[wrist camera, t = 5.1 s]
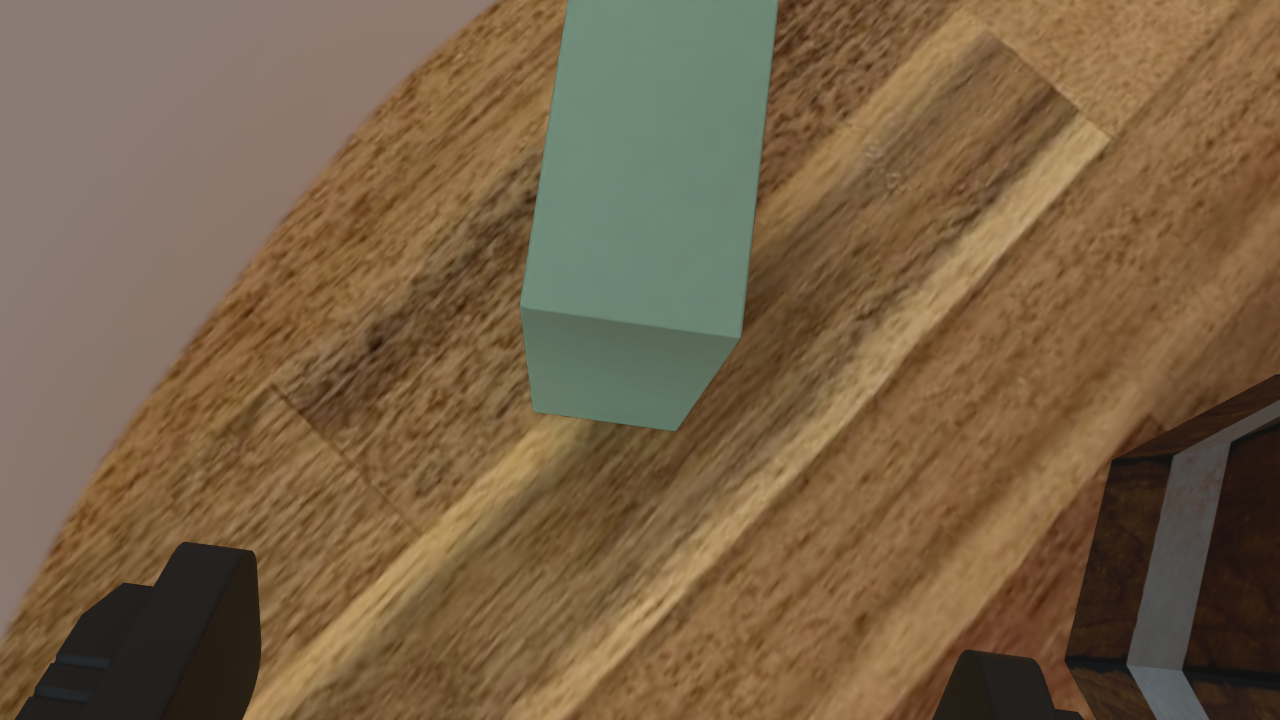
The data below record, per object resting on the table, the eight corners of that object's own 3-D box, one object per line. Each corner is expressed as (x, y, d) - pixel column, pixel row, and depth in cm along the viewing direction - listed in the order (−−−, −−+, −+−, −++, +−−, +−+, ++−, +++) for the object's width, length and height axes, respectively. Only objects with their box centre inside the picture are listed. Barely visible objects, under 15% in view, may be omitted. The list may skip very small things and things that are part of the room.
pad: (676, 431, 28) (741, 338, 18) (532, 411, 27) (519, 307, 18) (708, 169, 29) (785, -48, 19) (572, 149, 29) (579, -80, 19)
